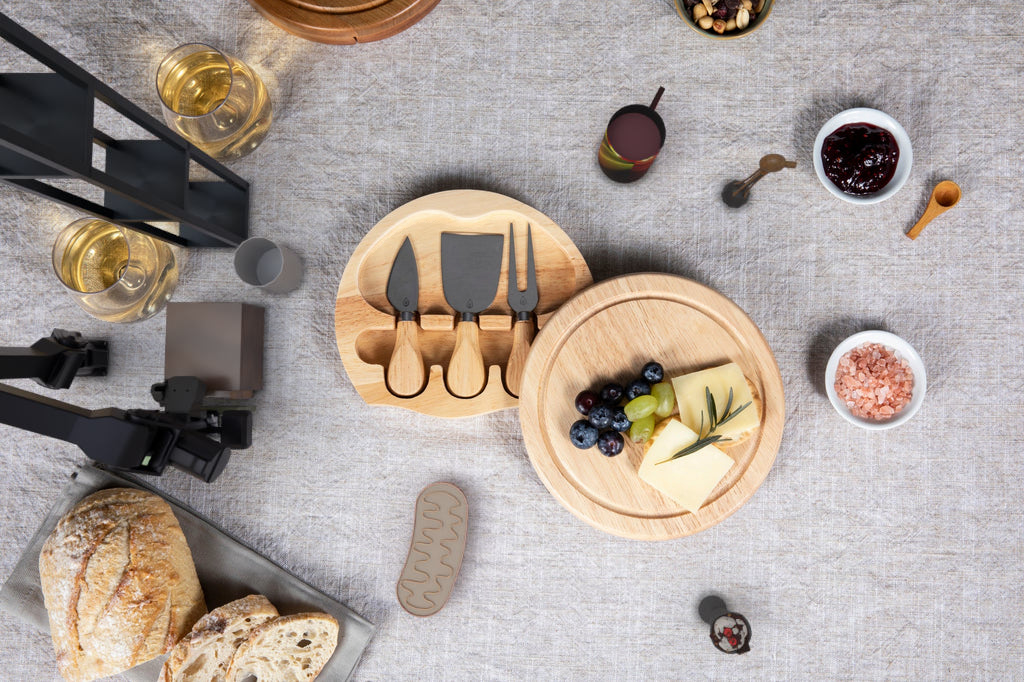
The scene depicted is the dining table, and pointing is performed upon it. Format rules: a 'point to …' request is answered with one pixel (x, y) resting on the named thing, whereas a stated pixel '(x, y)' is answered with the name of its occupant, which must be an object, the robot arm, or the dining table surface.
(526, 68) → the dining table surface
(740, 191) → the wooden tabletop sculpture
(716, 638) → the sundae
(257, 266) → the cup
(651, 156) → the mug
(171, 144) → the rack
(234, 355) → the cabinet
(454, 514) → the mitochondrion model
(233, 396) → the drawer
